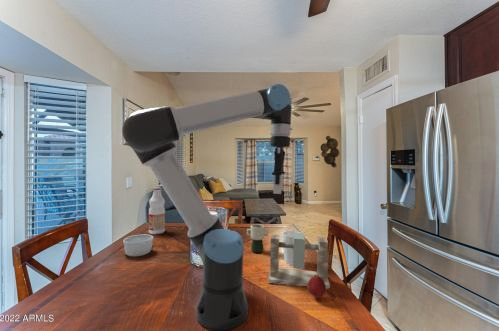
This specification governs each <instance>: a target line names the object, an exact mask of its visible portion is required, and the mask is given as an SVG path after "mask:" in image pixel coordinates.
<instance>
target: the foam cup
mask: <svg viewBox="0 0 499 331" xmlns="http://www.w3.org/2000/svg"><path fill="white" fill-rule="evenodd" d="M293 232H295V233H302V232H301V231H298V230H284V231H282V232H281V240H282V241H281V242H287V243H293ZM283 258H284V263H285V262H286V263H287V264H286V263H285V264H286V265H289V264H290V265H289V266H293V248H283Z"/></svg>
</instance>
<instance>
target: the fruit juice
mask: <svg viewBox="0 0 499 331" xmlns="http://www.w3.org/2000/svg"><path fill="white" fill-rule="evenodd" d="M152 191H153V192H152V196H151V198H150V199H149V202H148V204H149V208H148V233H149V235H159V234H164V232H165V231H166V230H165V228H166V227H165V224H166V221H165V220H166V217H165V216H166V208H165V203H166V200H165V198H164V197H163V195H162V187H160V186H159V187H153V188H152Z"/></svg>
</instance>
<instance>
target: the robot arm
mask: <svg viewBox="0 0 499 331" xmlns="http://www.w3.org/2000/svg"><path fill="white" fill-rule="evenodd" d="M292 109H293V106H292V97H291V94H290V90H289V89H288V88H287V86H285V85H284V84H281V83H275V84H273V85H271V86H269V87H268V88H265V89H259V90H255V91H254V90H253V91H249V92H243V93H241V94H236V95H231V96H226V97H220V98H217V99H213V100H208V101H207V100H206V101H202V102H198V103H193V104H188V105H183V106H179V107H174V106H173V105H170V104H169V105H165V106H158V107H153V108H145V109H141V110H137V111H135V112H133V113H131V114H129V116H127V117H126V119H125V120H124V122H123V125H122V130H121V133H122V137H123V139H124V141H125V143H126V144H127V145H128V146H129V147H130V148H131V149H132V150H133V152H134V154H135V155H136V157H137V158H138V160H139V162H140V163H141V164H142V166H145V167H148V168H150V169H151V171H152V172H153V174H154V175H155V177H156V178H157V180H158V182H159V184H161V186H162V189H163V190H164V191H165V193H166V195H167V196H168V198H169V199H170V201H171V202H172V204H173V206H174V207H175V209H176V210H177V212H178V213H179V215H180V217H181V218H182V220H183V221H184V223H185V225H186V226H187V227H188V230H187V236H188V238H189V240H190V241H191V243H192V245H193V246H194V248H195V249H196V251H197V253H198V255H199V257H200V259H201V262H202V268H203V269H202V273H203V274H202V288H201V289H202V290H201V293H200V296H199V299H198V301H197V303H196V304H197V305H196V320H197V322H198V323H199V324H200V325H201V326H202V327H204V328H206V329H208V330H212V331H227V330H231V329H234V328H237V327H239V326H240V325H242V324H243V323H244V322H245V321H246V320H247V318H248V315H249V304H248V303H249V302H248V300H247V297H246V292H245V291H244V287H243V280H244V279H243V278H244V277H243V276H244V275H243V274H244V249H245V248H244V247H245V246H244V240H243V239H244V238H243V237H242V236H241V234H240V233H239V232H237V231H236V230H231V229H228V228H225V227H224V226H223V223H222V221H221V220H220V218H219V217H218V216H217V215H216V214H211V212H210V211H209V209H208V207H207V205H206V204H205V202H204V200H203V199H202V197H201V196H200V194H199V192H198V191H197V189H196V187H195V185H194V184H193V182H192V180H191V179H190V177H189V175H188V174H187V172H186V170H185V169H184V167H183V165H182V164H181V162H180V160H179V159H178V157H177V155H176V151H177V146H176V144H175V142H177V141H180V140H181V139H182V137H183V136H186V135H189V134H193V133H197V132H200V131H205V130H208V129H211V128H216V127H220V126H224V125H228V124H232V123H235V122H239V121H243V120H247V119H259V120H268V121H269V120H270V135H271V137H270V139H269V140H270V141H269V142H270V143H269V145H270V147H271V148H272V147H273V148H275V151H274V153H273V154H274V164H273V165H274V166H273V172H271V175H272V176H273V188H272V191H273V192H272V193H273V195H274V194H276V195H282V191H283V190H284V189H283V187H284V175H285V174H286V172H285V170H284V162H285V156H286V151H285V150H284V148H289V147H290V146H291V137H290V136H291V131H293V127H291V122H292Z"/></svg>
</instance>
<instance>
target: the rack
mask: <svg viewBox="0 0 499 331" xmlns="http://www.w3.org/2000/svg"><path fill="white" fill-rule="evenodd" d="M280 248H294V244H293V243H287V242H282V241H280V234H271V236H270V257H269V258H270V259H269V261H270V262H269V267H270V268H269V272H268V273H269V274H268V279H267V280H268V281H267V283H268V284H270V283H274V284H273V285H280V284H286V285H285V286H291V285H298V286H297V287H301V286H308V282H309V280H310V279H311V278H312V277H314V276H315V274H317V275H318V276H319V277H320V278H322V280H323V281H324V283H325V285H326V288H330V289H331V285H330V284H331V283H330V281H329V279H328V271H329V270H328V265H329V264H328V263H329V242H328V239H327V238H326V237H317V244H315V243H314V244H311V243H305V250H312V251H317V264H316V268H317V269H316V270H317V271H313V270H304V269H291V268H279V267H280V266H279V264H280V263H279V262H280V261H279V260H280V259H279V258H280Z"/></svg>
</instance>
